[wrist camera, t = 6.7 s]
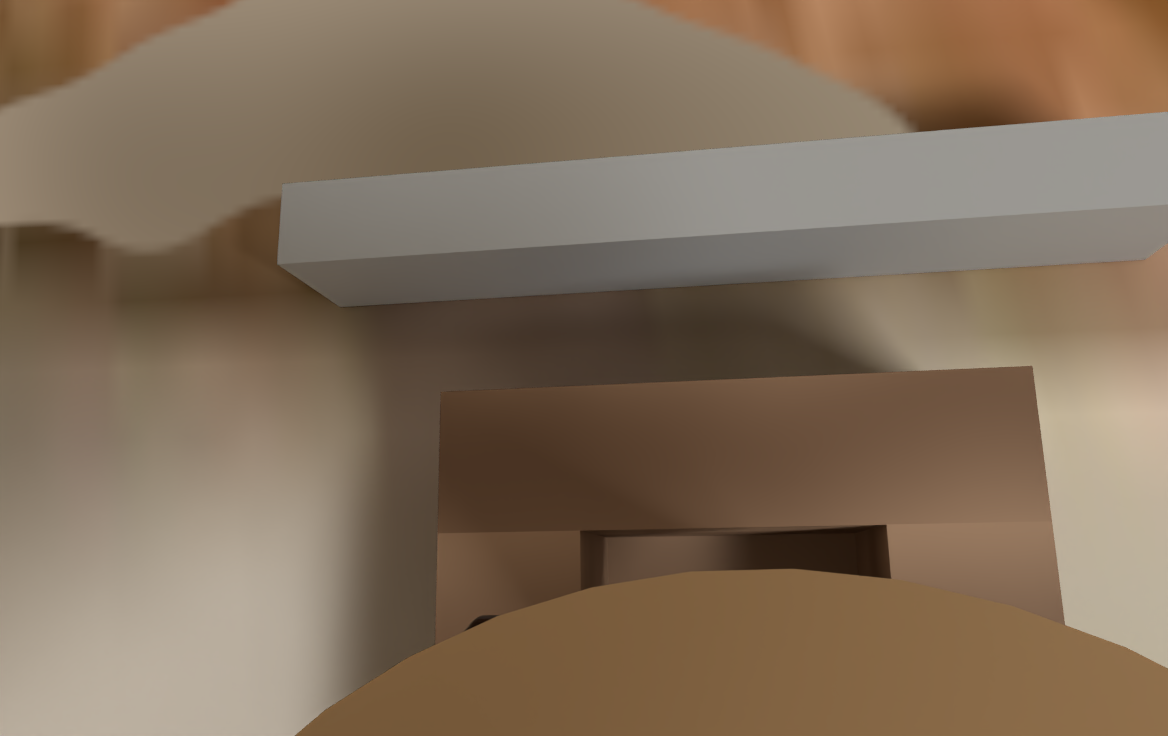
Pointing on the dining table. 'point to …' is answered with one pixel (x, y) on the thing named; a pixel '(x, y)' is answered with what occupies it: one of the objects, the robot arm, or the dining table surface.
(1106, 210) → the stop rail
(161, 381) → the dining table surface
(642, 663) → the dowel
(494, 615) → the robot arm
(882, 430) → the socket block
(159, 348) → the dining table surface
